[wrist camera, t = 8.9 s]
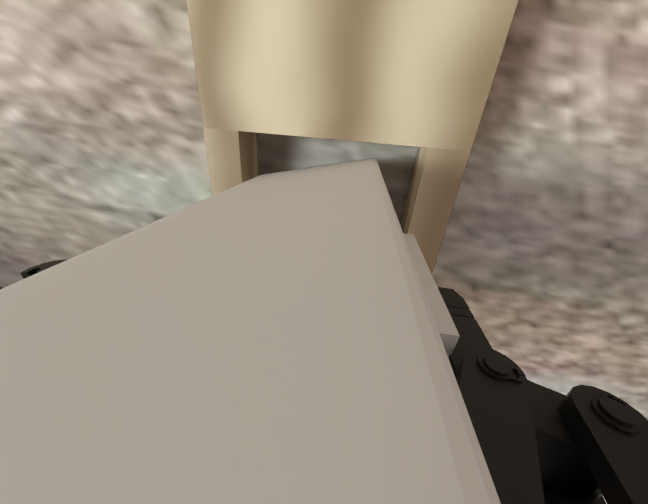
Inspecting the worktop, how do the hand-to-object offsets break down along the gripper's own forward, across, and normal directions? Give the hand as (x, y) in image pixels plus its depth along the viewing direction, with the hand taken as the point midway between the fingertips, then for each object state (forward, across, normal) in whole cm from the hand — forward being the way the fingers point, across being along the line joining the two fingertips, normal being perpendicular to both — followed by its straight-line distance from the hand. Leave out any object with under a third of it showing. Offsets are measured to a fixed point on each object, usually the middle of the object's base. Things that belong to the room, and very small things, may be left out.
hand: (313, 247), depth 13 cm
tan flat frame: (+5, 0, +2) cm, 6 cm away
